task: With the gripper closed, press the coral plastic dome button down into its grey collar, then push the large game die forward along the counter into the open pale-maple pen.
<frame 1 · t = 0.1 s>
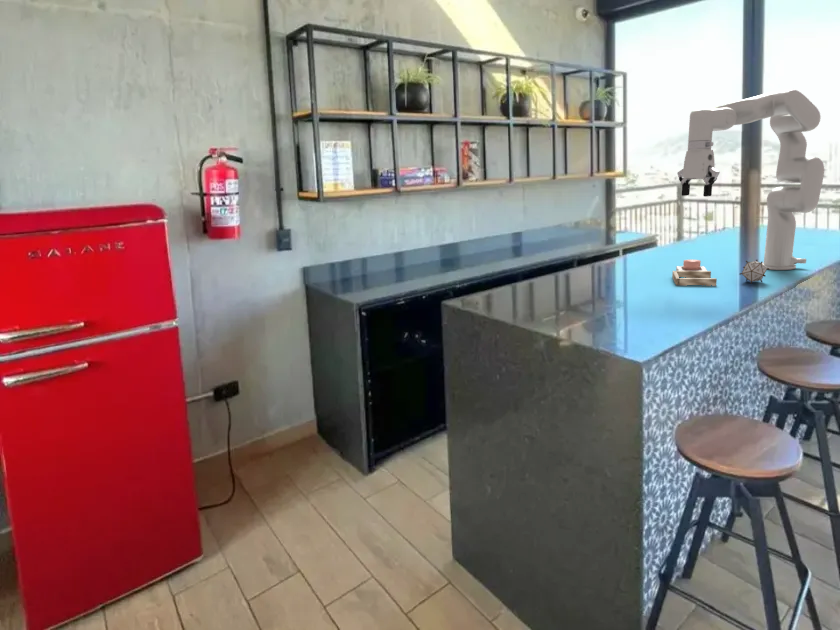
hand: (696, 195, 209), 31 cm above the countertop, tool pointing down, fingers open, 9 cm apart
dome: (691, 264, 226), point 4 cm above the countertop, slide at 0.0 cm
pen: (695, 281, 215), on the countertop
collar: (691, 274, 227), on the countertop
game die: (753, 282, 209), on the countertop
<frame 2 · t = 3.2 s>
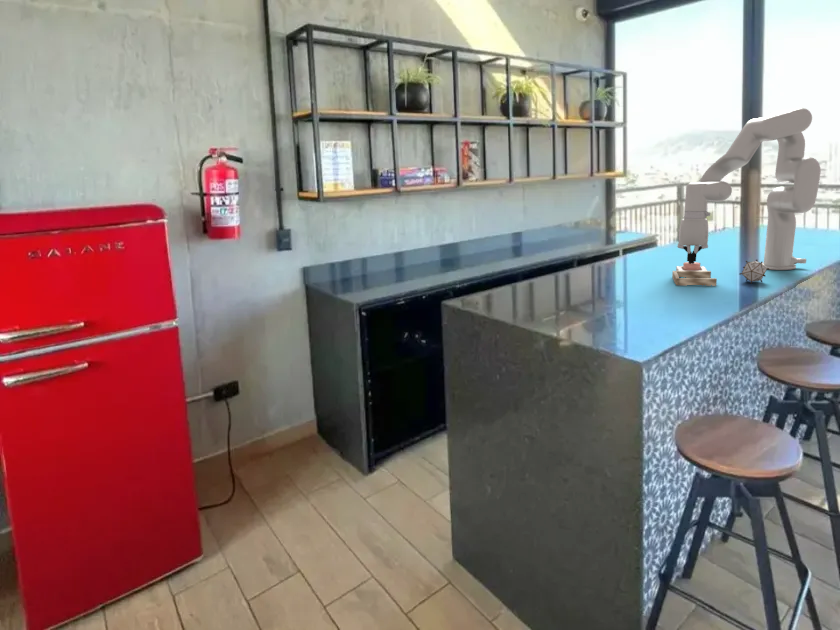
hand: (691, 263, 226), 5 cm above the countertop, tool pointing down, fingers closed
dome: (691, 267, 226), point 3 cm above the countertop, slide at -1.0 cm, touching gripper
everything else where it was.
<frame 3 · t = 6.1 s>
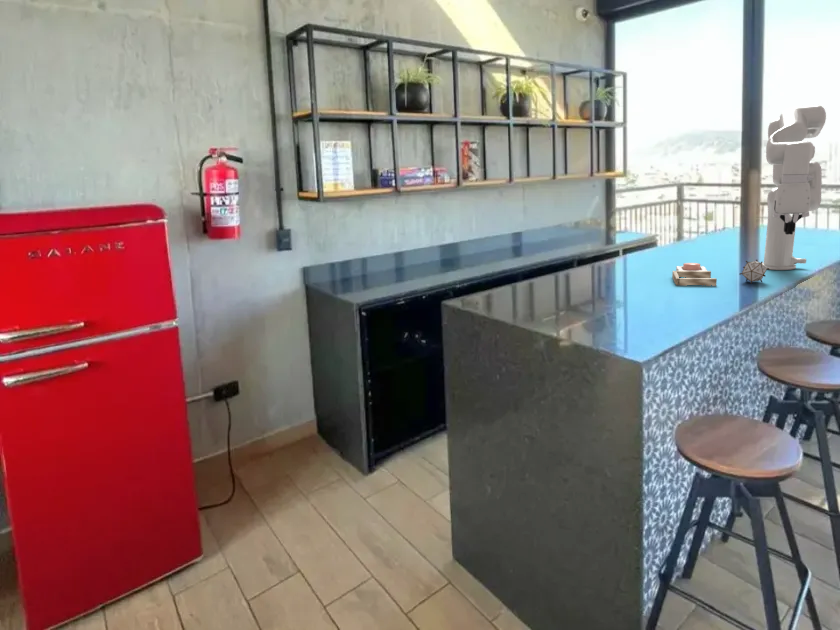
hand: (788, 233, 202), 17 cm above the countertop, tool pointing down, fingers closed
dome: (691, 268, 226), point 3 cm above the countertop, slide at -1.3 cm
everything else where it was.
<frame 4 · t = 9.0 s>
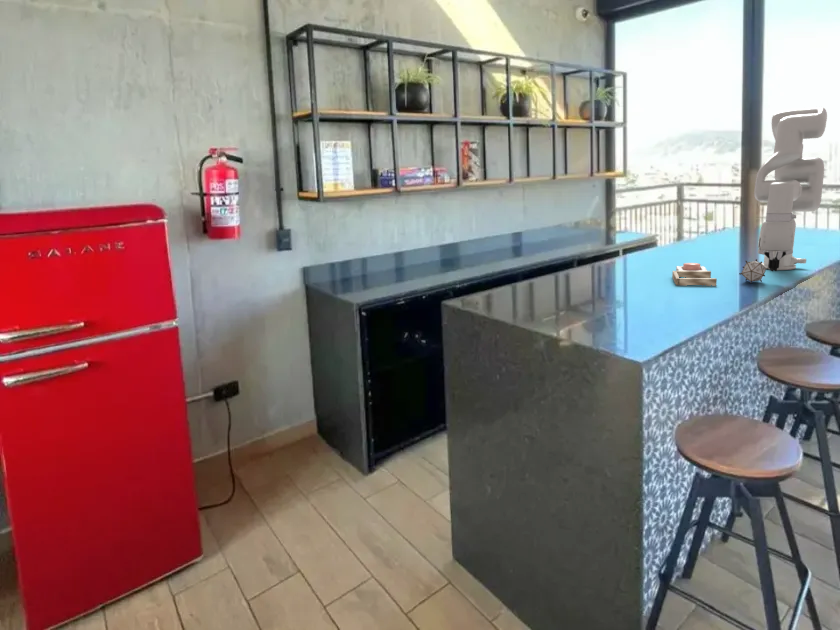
hand: (773, 270, 206), 4 cm above the countertop, tool pointing down, fingers closed
game die: (752, 282, 209), on the countertop, touching gripper
everything else where it was.
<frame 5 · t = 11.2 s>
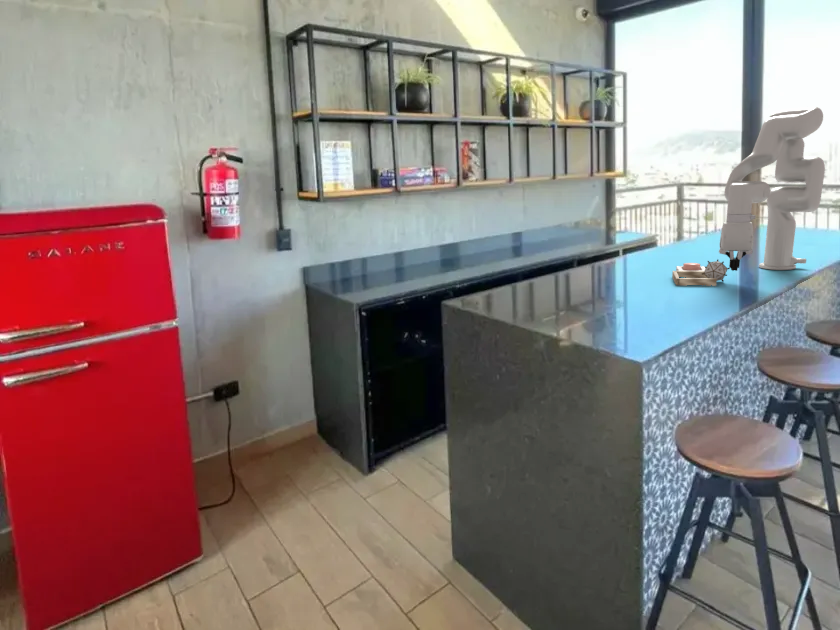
hand: (734, 269, 210), 4 cm above the countertop, tool pointing down, fingers closed
game die: (714, 282, 212), on the countertop, touching gripper
everything else where it was.
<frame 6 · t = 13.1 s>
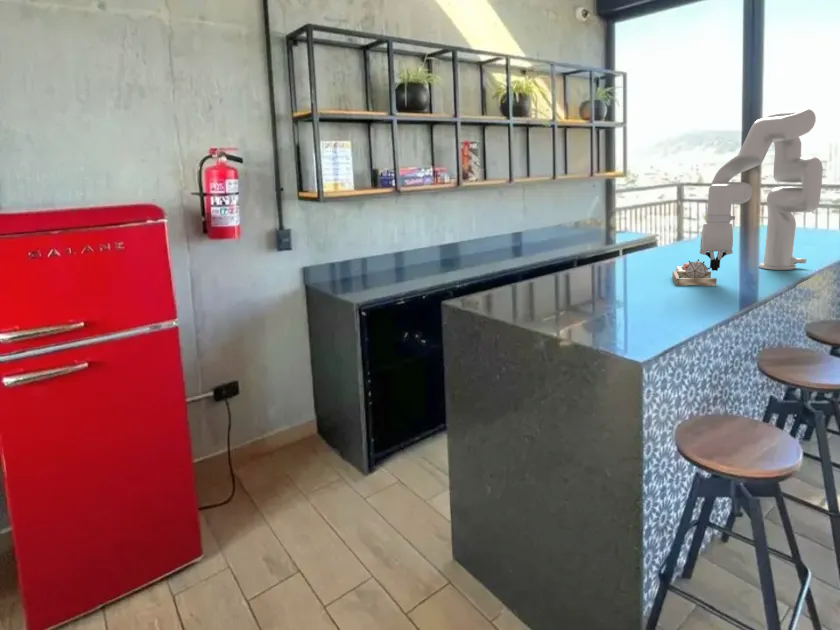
hand: (714, 270, 212), 4 cm above the countertop, tool pointing down, fingers closed
game die: (695, 282, 214), on the countertop, touching gripper
everything else where it was.
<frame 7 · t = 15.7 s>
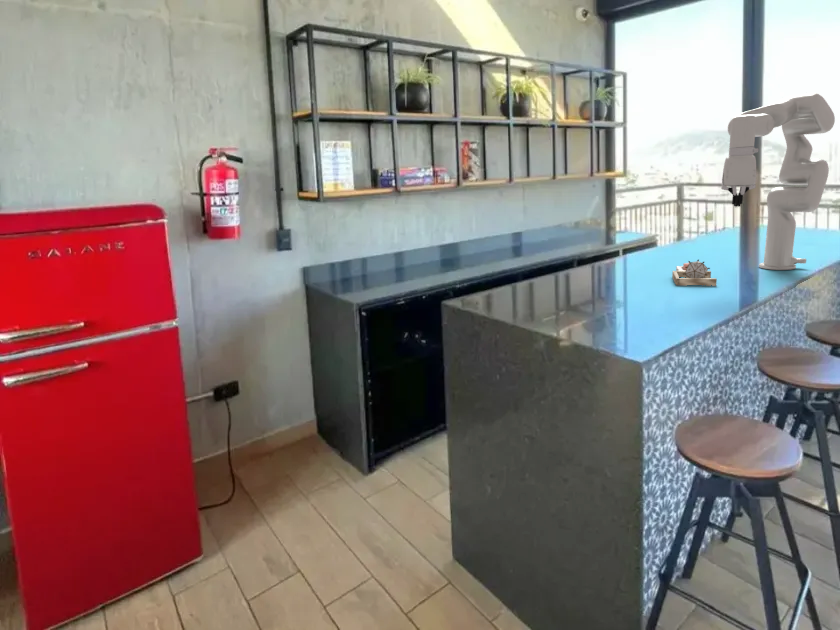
hand: (736, 206, 206), 27 cm above the countertop, tool pointing down, fingers closed
game die: (695, 282, 214), on the countertop
everything else where it was.
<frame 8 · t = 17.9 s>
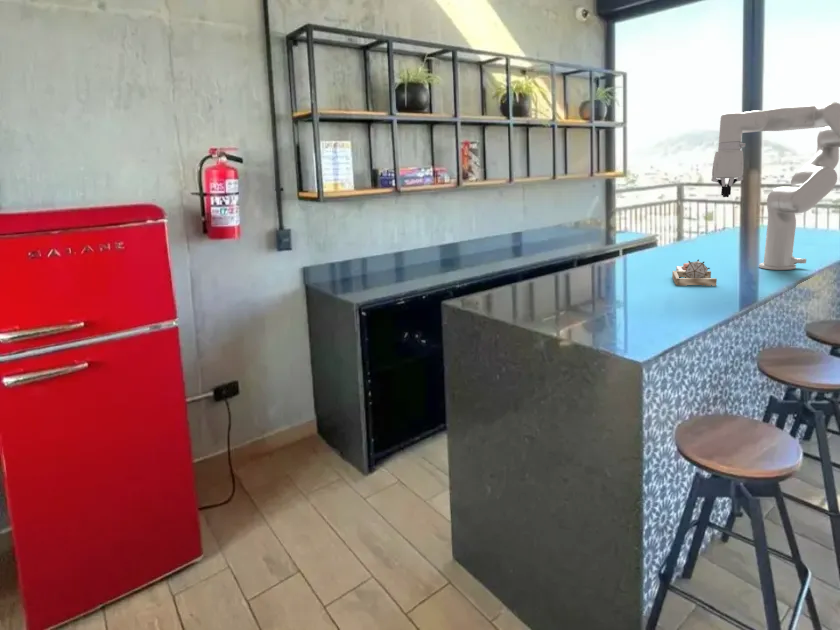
hand: (725, 196, 222), 29 cm above the countertop, tool pointing down, fingers closed
nothing on the countertop moved.
at the end: game die inside the target area (0.8 cm from its centre), on the countertop; game die tilted 0°; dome slide at -1.3 cm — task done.
